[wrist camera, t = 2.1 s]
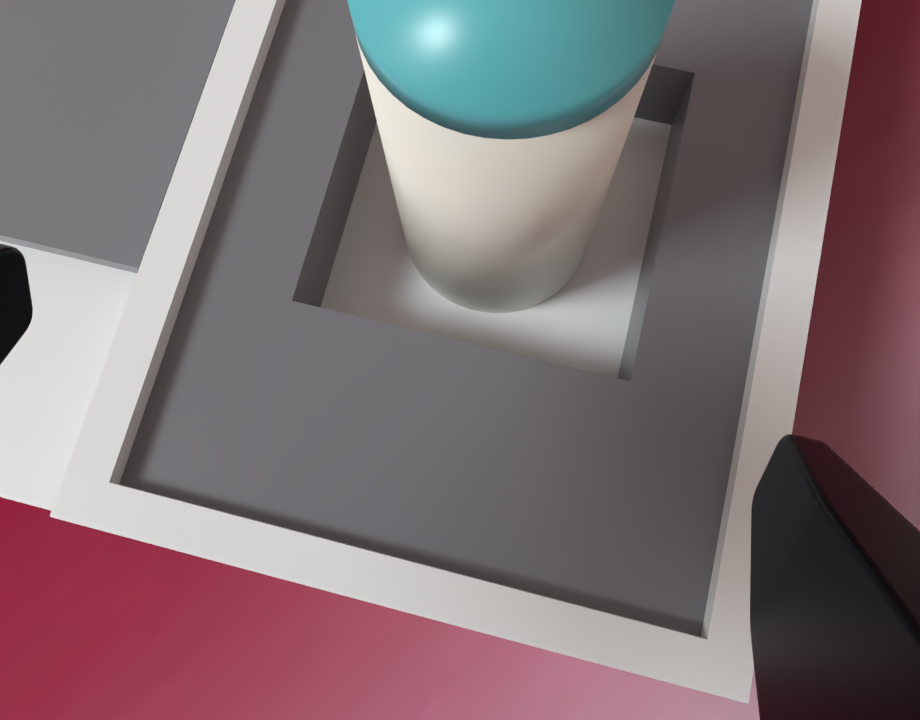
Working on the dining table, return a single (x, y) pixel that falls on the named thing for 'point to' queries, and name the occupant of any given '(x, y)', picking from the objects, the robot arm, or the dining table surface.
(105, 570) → the dining table surface
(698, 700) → the dining table surface
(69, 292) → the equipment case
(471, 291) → the ball
